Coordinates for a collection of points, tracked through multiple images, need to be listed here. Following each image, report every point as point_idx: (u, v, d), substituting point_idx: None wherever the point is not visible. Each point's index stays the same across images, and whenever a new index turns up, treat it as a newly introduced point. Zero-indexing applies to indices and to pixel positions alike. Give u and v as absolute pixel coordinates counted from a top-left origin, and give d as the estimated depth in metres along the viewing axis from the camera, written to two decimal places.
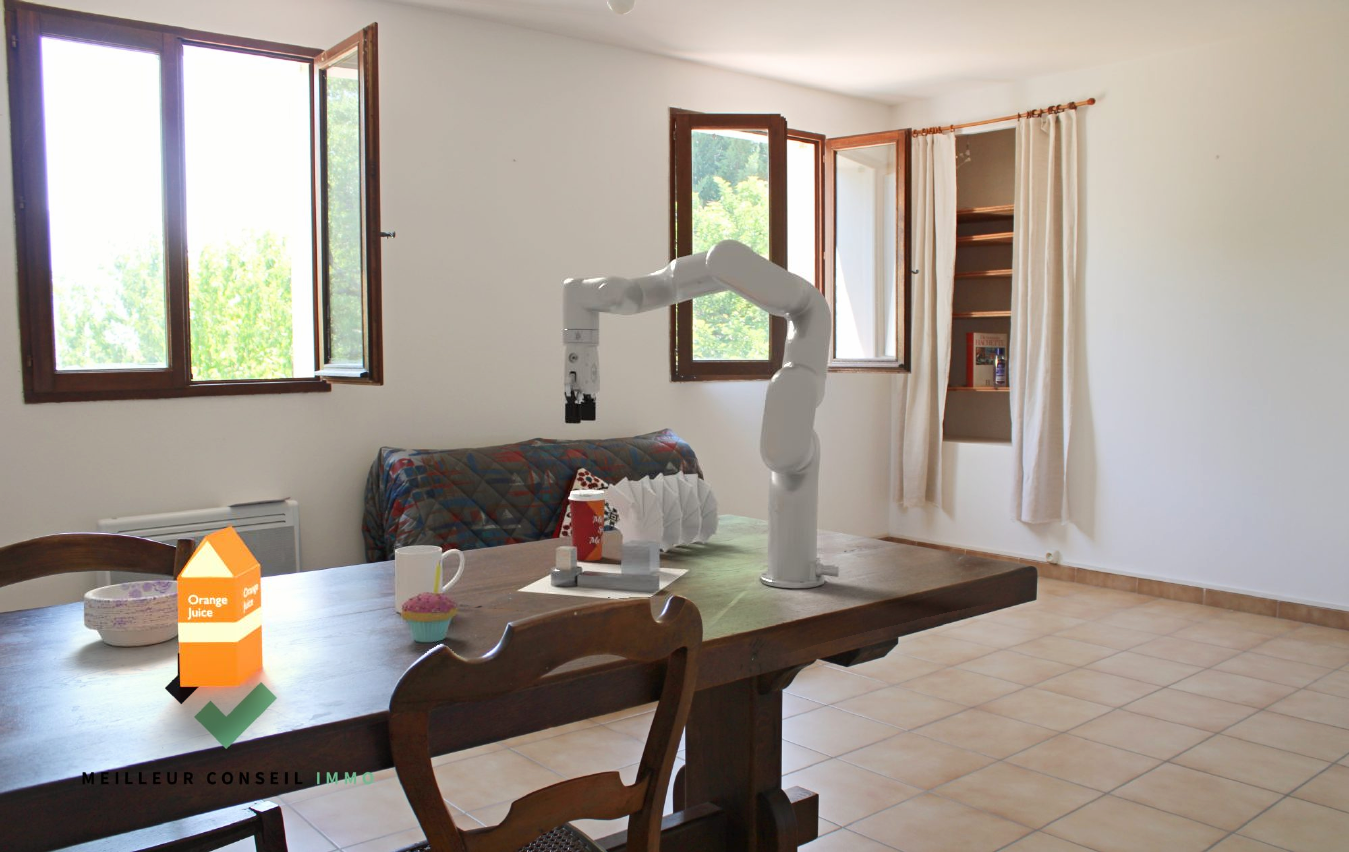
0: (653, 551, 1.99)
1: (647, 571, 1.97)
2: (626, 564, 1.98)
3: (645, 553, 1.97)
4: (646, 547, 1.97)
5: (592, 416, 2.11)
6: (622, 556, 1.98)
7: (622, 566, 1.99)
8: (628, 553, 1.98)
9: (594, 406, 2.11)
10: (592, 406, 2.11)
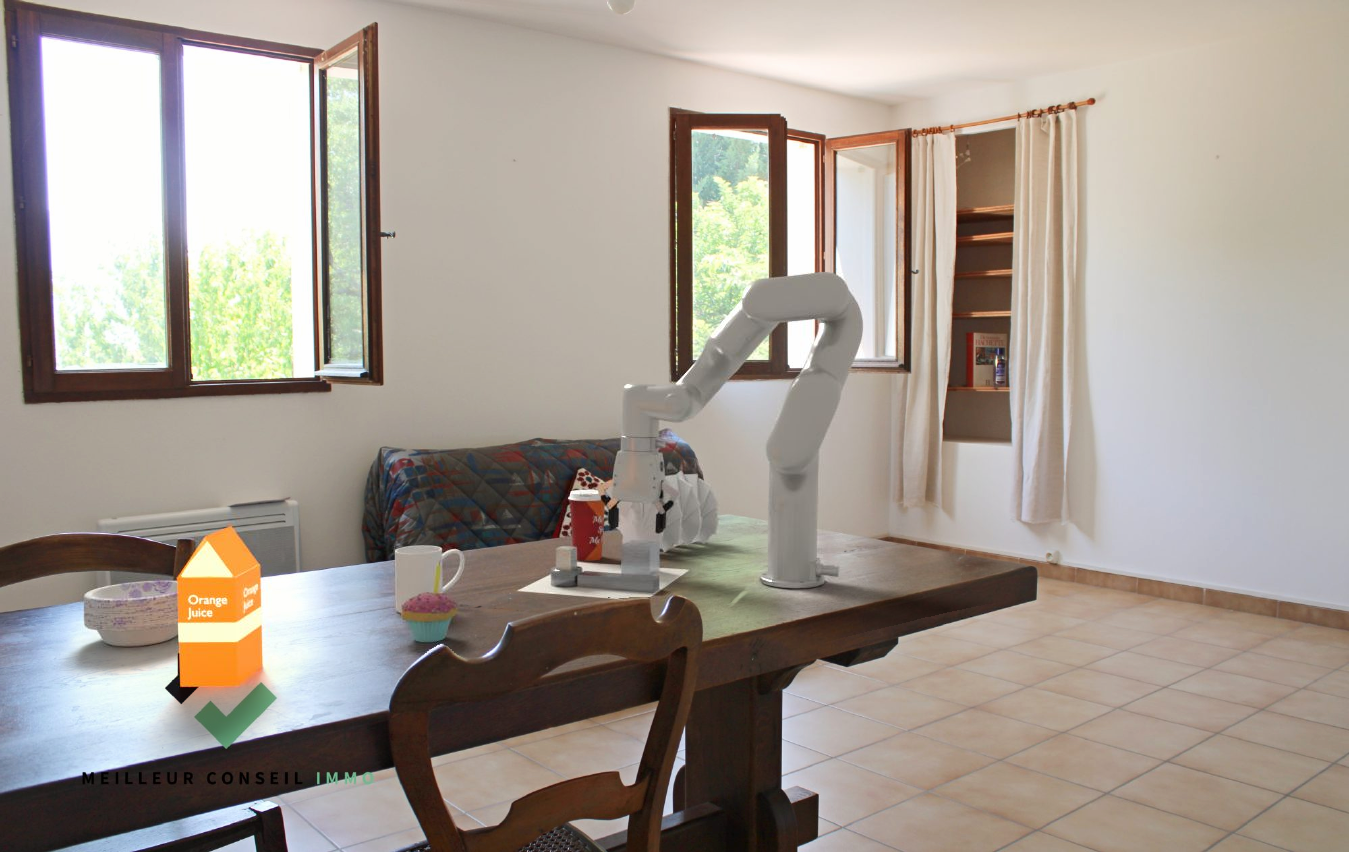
0: (653, 551, 1.99)
1: (647, 571, 1.97)
2: (626, 564, 1.98)
3: (645, 553, 1.97)
4: (646, 547, 1.97)
5: (617, 523, 2.03)
6: (622, 556, 1.98)
7: (622, 566, 1.99)
8: (628, 553, 1.98)
9: None
10: (618, 512, 2.02)
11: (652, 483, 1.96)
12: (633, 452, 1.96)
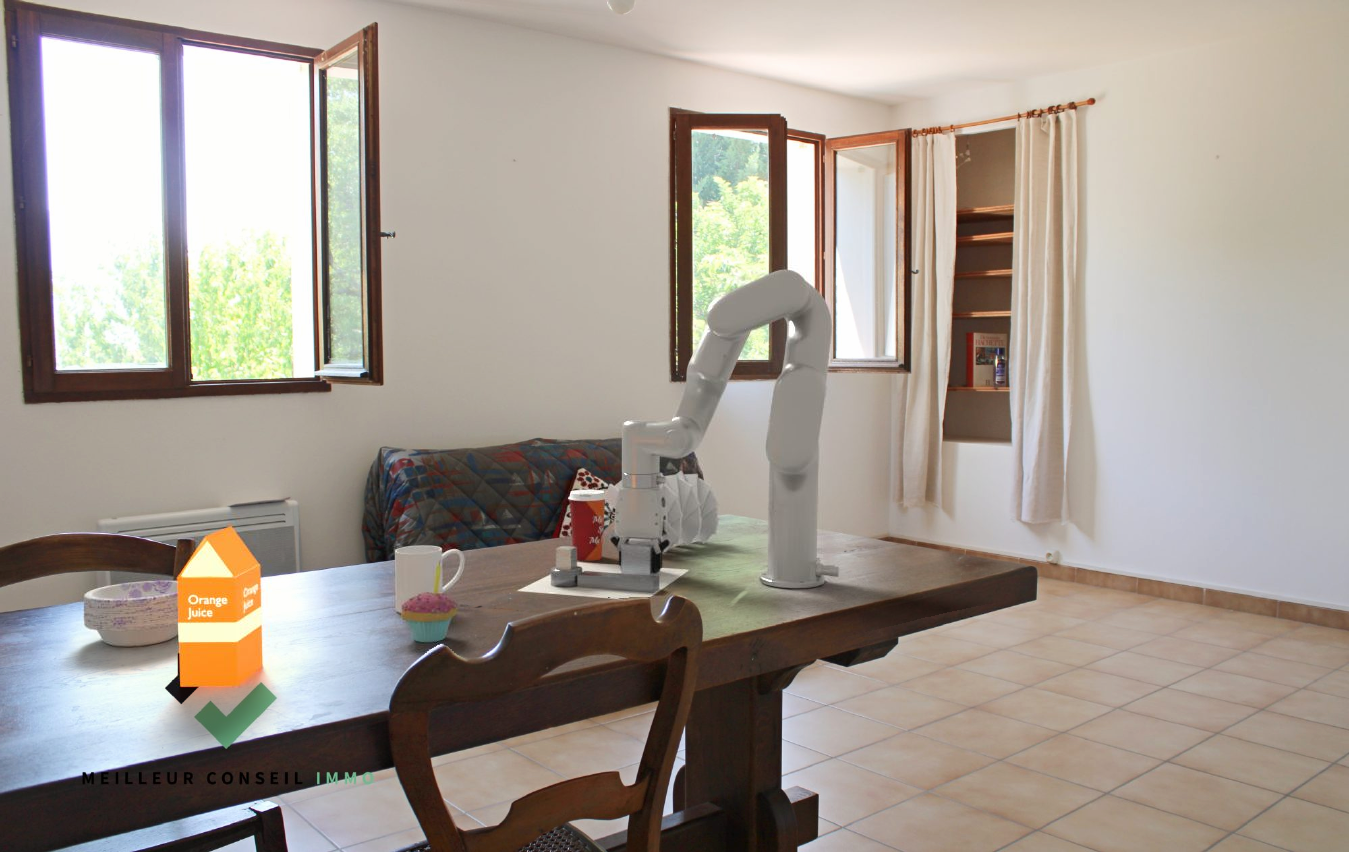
0: (653, 551, 1.99)
1: (647, 571, 1.97)
2: (626, 564, 1.98)
3: (645, 553, 1.97)
4: (646, 547, 1.97)
5: None
6: (622, 556, 1.98)
7: (622, 566, 1.99)
8: (628, 553, 1.98)
9: None
10: None
11: (654, 519, 1.97)
12: (634, 489, 1.96)
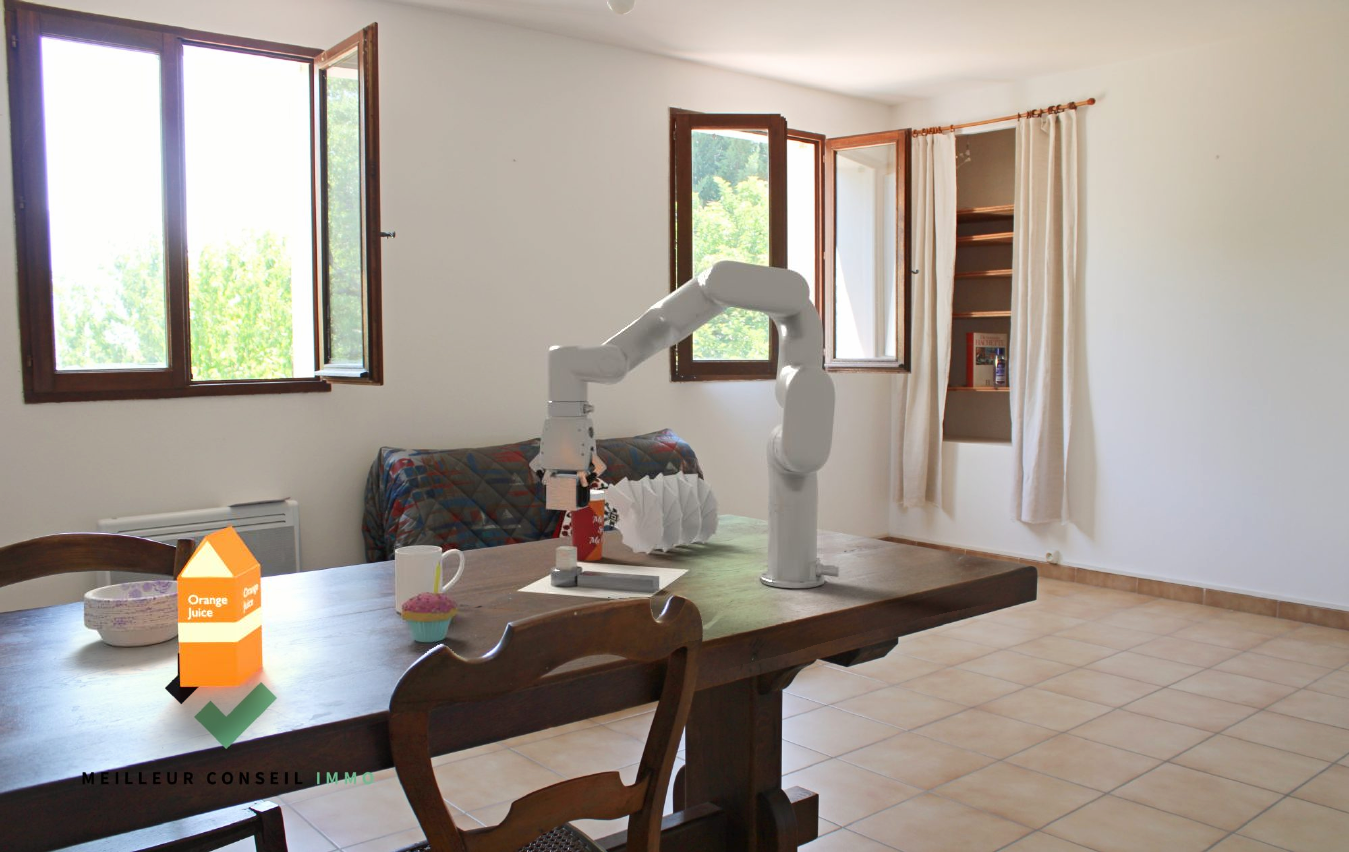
0: (580, 483, 1.88)
1: (573, 504, 1.86)
2: (551, 497, 1.87)
3: (570, 485, 1.86)
4: (572, 479, 1.86)
5: None
6: (547, 489, 1.87)
7: (546, 499, 1.88)
8: (553, 486, 1.87)
9: None
10: None
11: (581, 450, 1.86)
12: (559, 417, 1.85)
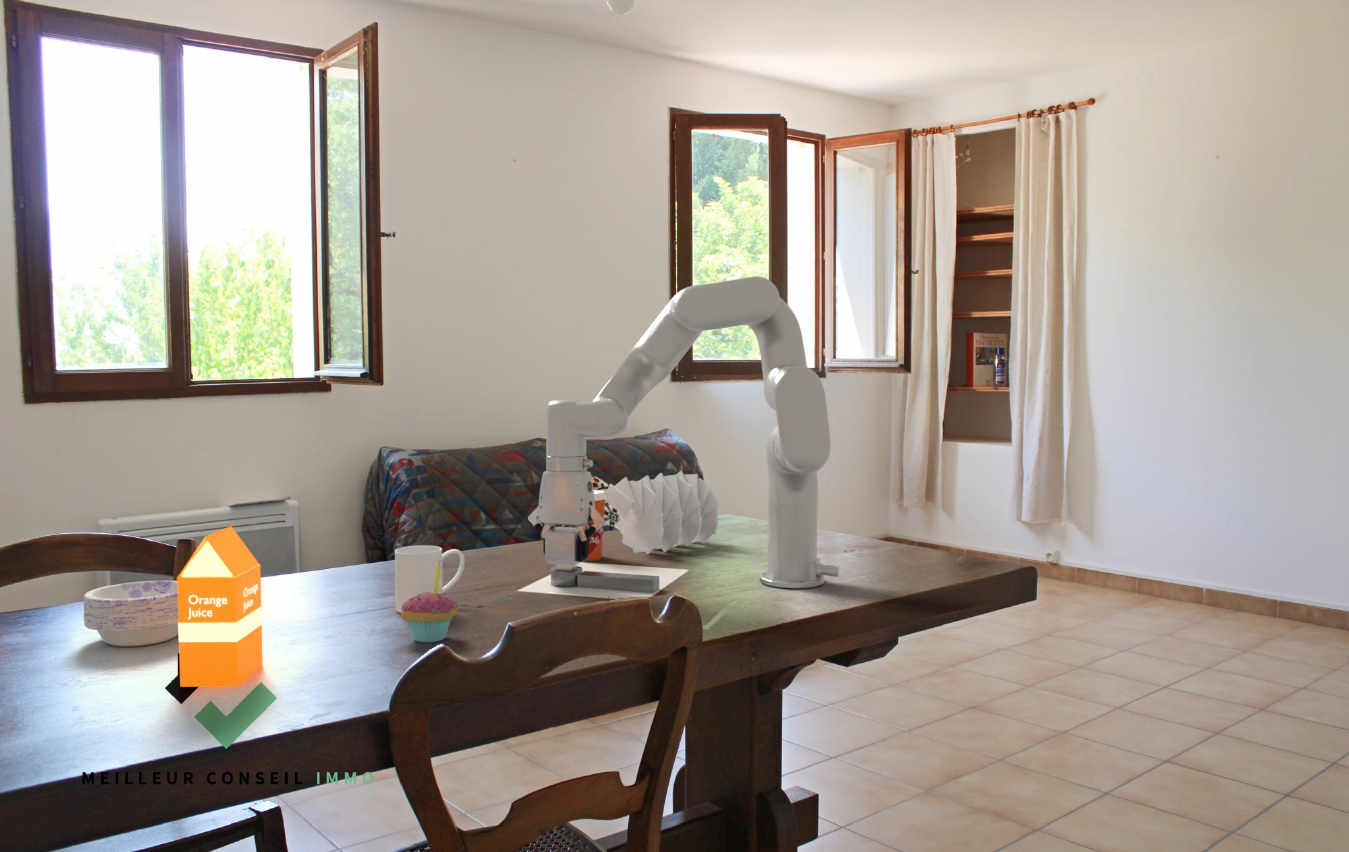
0: (578, 538, 1.88)
1: (571, 559, 1.86)
2: (550, 552, 1.88)
3: (569, 540, 1.86)
4: (570, 534, 1.86)
5: None
6: (546, 543, 1.88)
7: (545, 554, 1.88)
8: (552, 540, 1.87)
9: None
10: None
11: (579, 505, 1.86)
12: (558, 473, 1.85)
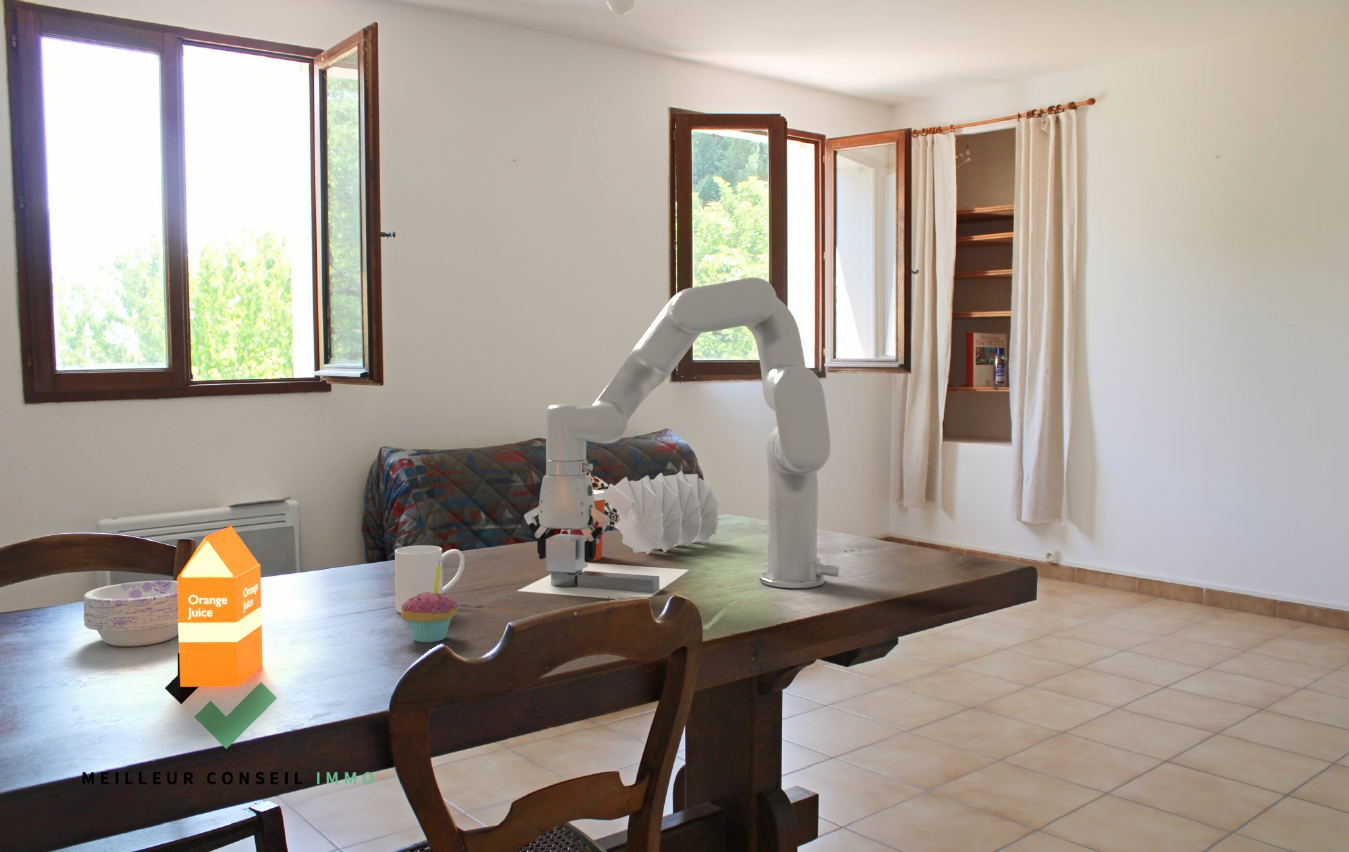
0: (579, 545, 1.88)
1: (573, 566, 1.87)
2: (551, 559, 1.88)
3: (570, 547, 1.86)
4: (571, 541, 1.86)
5: None
6: (547, 551, 1.88)
7: (546, 561, 1.88)
8: (553, 547, 1.88)
9: None
10: None
11: (580, 509, 1.86)
12: (558, 477, 1.85)
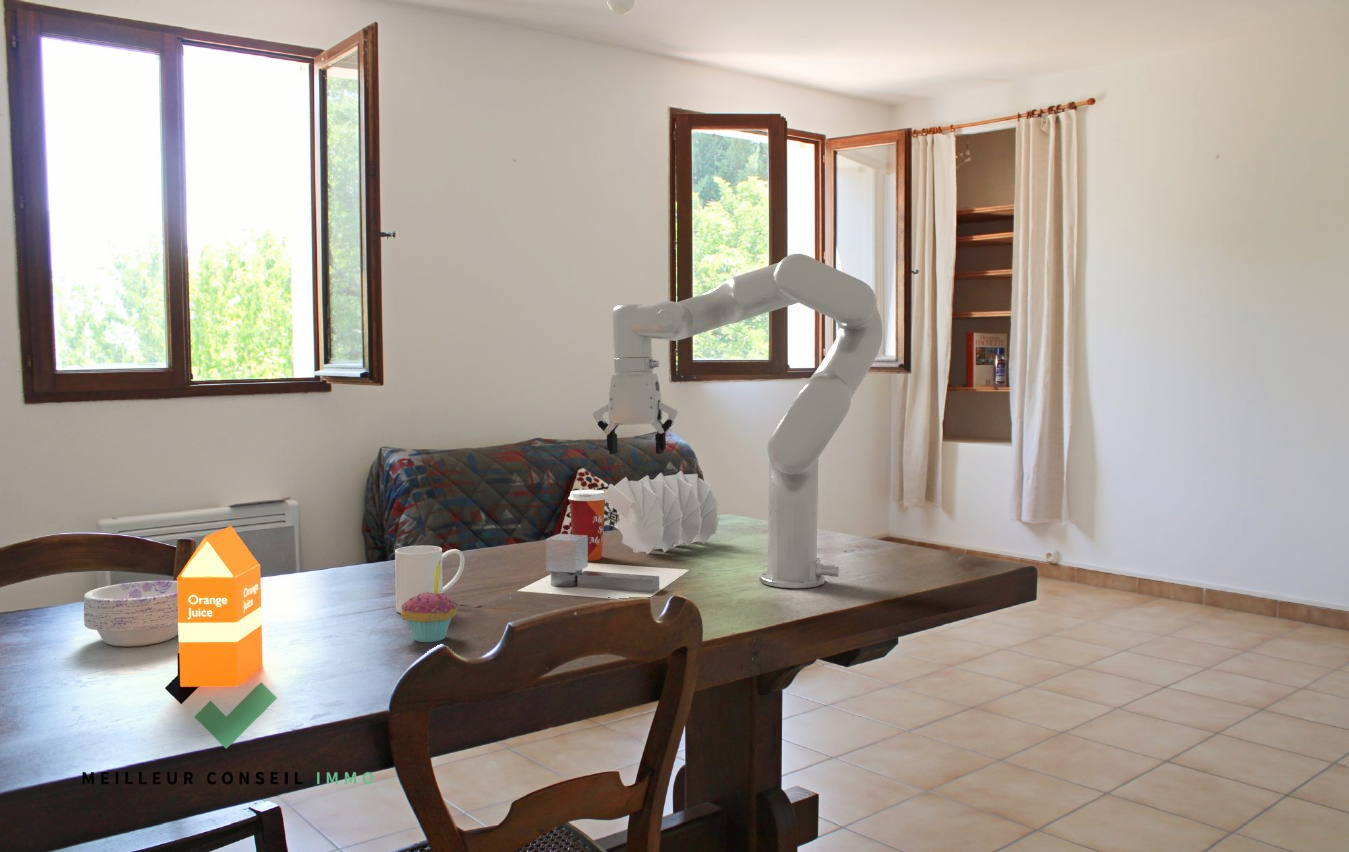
0: (579, 545, 1.88)
1: (573, 566, 1.87)
2: (551, 559, 1.88)
3: (570, 547, 1.86)
4: (571, 541, 1.86)
5: (617, 448, 2.00)
6: (547, 551, 1.88)
7: (546, 561, 1.88)
8: (553, 547, 1.88)
9: None
10: (616, 438, 2.00)
11: (649, 403, 1.94)
12: (628, 373, 1.94)
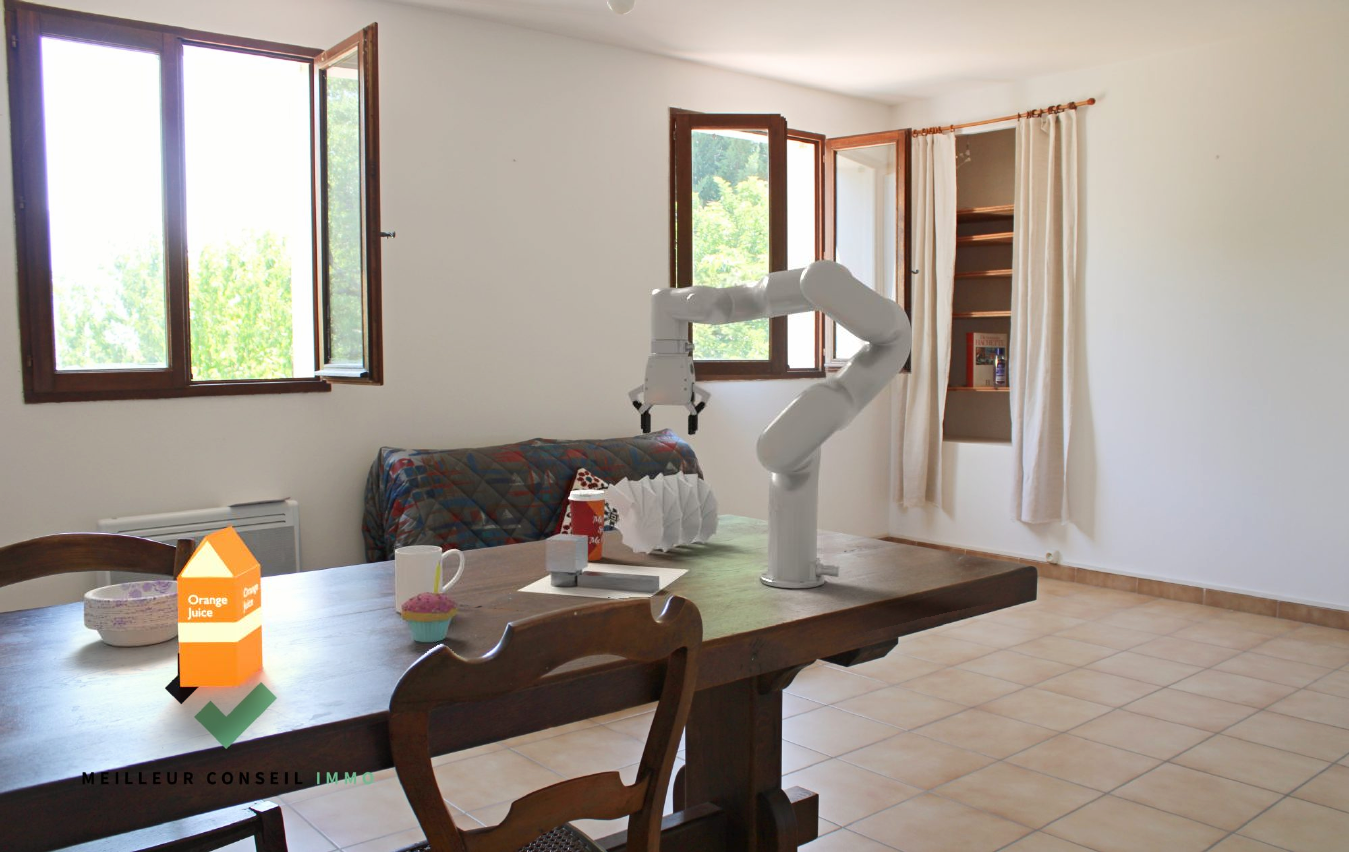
0: (579, 545, 1.88)
1: (573, 566, 1.87)
2: (551, 559, 1.88)
3: (570, 547, 1.86)
4: (571, 541, 1.86)
5: (650, 428, 2.06)
6: (547, 551, 1.88)
7: (546, 561, 1.88)
8: (553, 547, 1.88)
9: None
10: (650, 418, 2.06)
11: (683, 385, 2.00)
12: (664, 354, 1.99)
